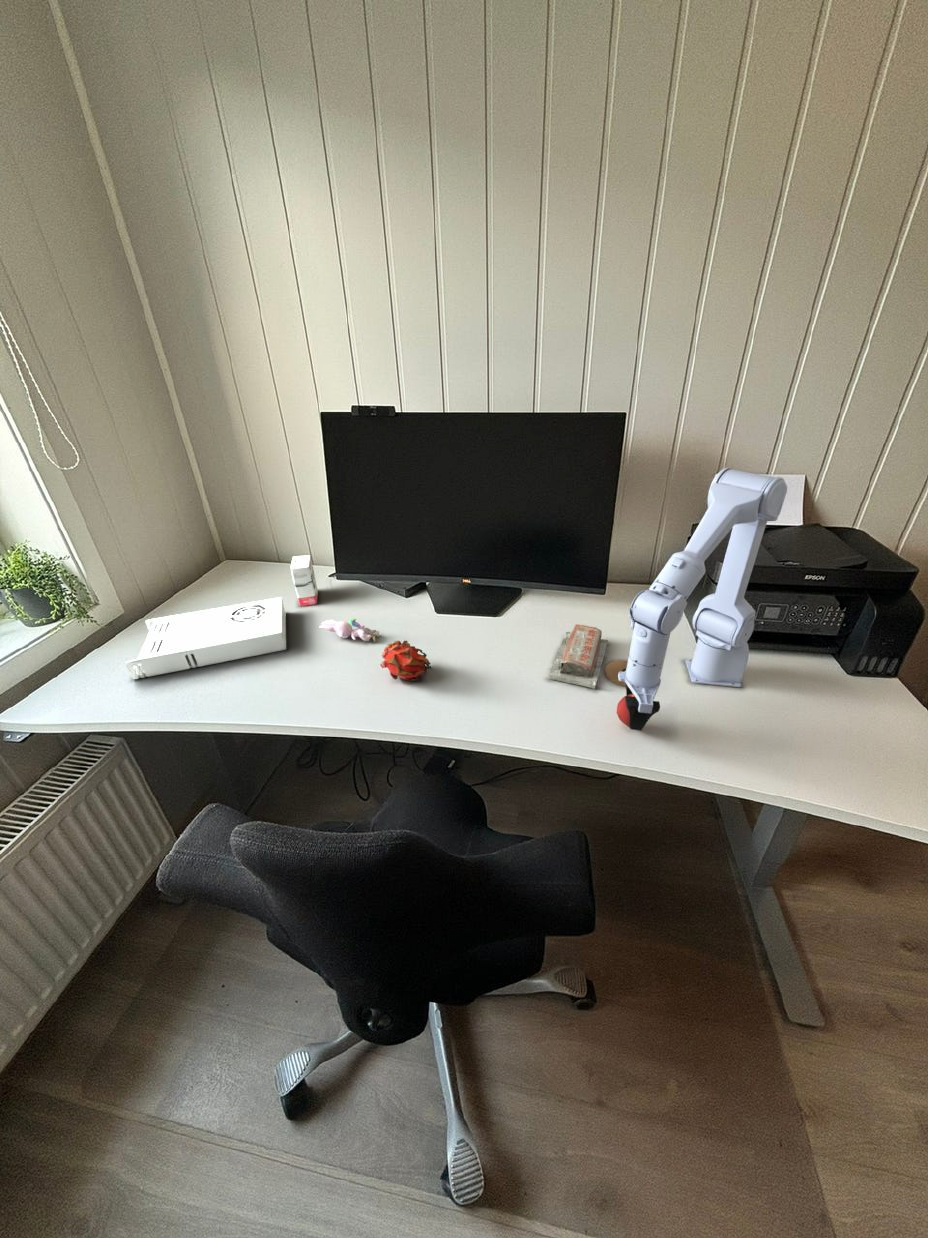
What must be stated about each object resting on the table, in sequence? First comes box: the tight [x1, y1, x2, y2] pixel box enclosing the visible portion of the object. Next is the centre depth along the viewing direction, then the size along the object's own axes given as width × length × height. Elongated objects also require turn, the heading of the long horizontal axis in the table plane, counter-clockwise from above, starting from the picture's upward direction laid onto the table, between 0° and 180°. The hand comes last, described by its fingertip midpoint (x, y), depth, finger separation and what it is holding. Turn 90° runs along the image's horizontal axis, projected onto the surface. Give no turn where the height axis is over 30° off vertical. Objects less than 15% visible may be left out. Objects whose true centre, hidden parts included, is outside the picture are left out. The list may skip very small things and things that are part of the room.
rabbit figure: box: [318, 618, 380, 642], centre depth 118 cm, size 6×6×15 cm
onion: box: [616, 693, 635, 728], centre depth 88 cm, size 6×6×8 cm
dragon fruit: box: [379, 640, 432, 682], centre depth 104 cm, size 8×8×12 cm
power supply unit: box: [125, 596, 287, 680], centre depth 118 cm, size 19×33×5 cm, turn 108°
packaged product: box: [548, 623, 609, 690], centre depth 107 cm, size 18×5×10 cm
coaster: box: [604, 659, 628, 688], centre depth 104 cm, size 9×9×1 cm
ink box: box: [290, 555, 319, 607], centre depth 135 cm, size 8×5×12 cm, turn 13°
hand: (634, 716), depth 89 cm, fingers closed on onion, 6 cm apart
